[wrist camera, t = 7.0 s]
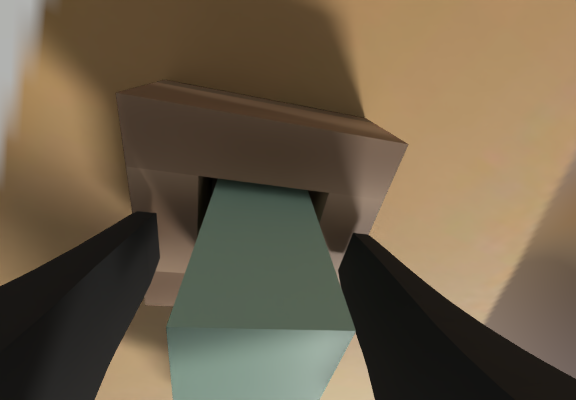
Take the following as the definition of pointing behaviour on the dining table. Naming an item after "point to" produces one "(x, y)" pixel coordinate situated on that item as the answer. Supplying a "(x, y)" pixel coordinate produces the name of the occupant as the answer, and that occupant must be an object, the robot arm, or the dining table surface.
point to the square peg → (257, 301)
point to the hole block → (246, 164)
